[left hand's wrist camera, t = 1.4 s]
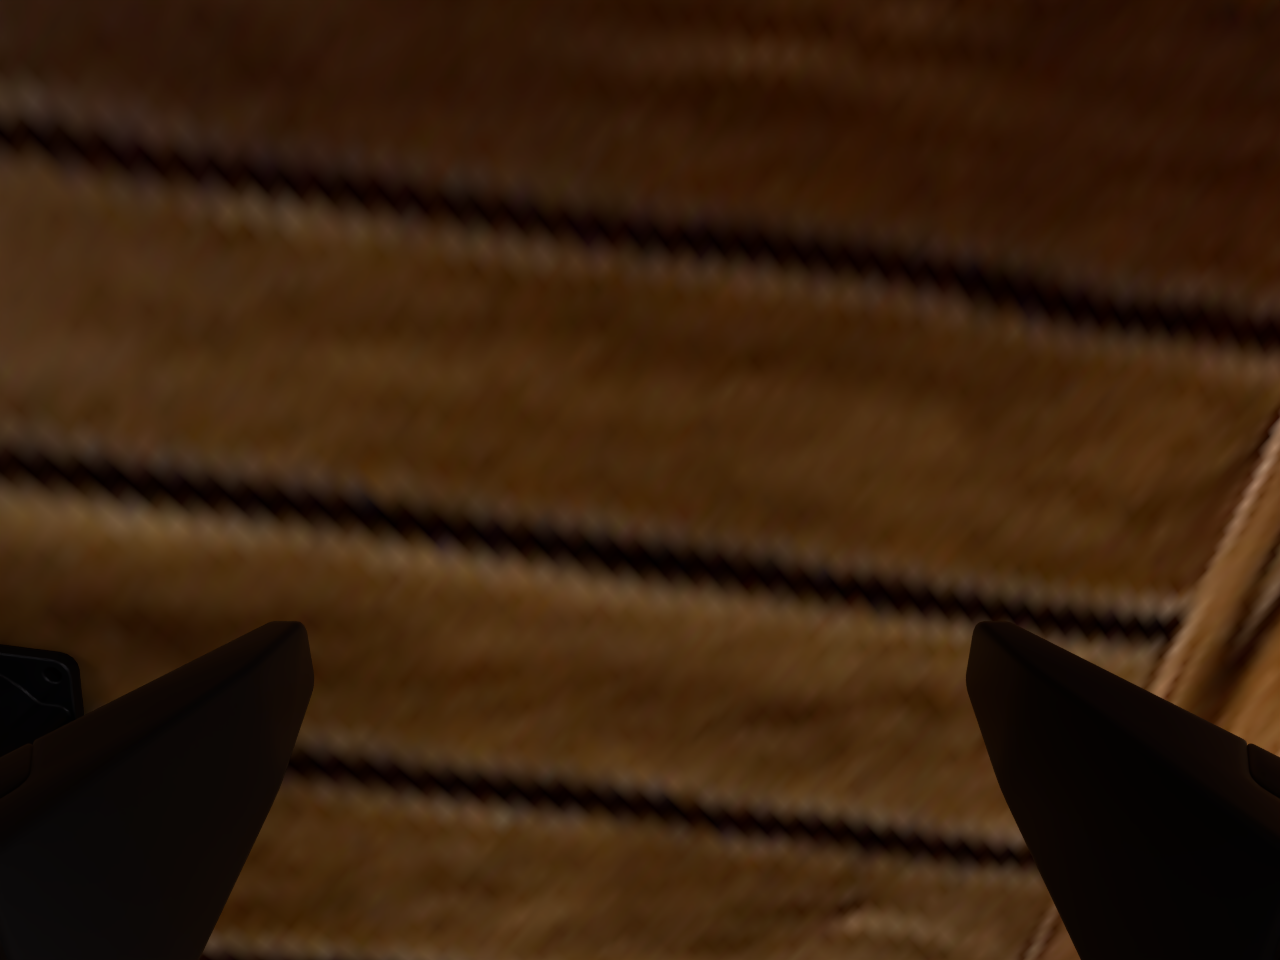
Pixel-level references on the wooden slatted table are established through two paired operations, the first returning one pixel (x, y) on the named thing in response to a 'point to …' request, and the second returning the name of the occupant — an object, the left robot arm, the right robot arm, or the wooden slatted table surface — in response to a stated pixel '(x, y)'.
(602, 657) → the wooden slatted table surface
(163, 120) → the wooden slatted table surface
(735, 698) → the wooden slatted table surface
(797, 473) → the wooden slatted table surface
